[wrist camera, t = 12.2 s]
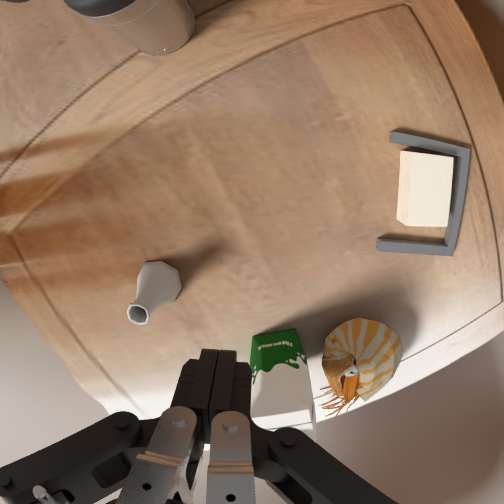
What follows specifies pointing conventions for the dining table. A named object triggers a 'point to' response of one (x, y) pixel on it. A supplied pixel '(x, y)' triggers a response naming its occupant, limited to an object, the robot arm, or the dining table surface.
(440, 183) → the carton
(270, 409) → the milk carton
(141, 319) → the flask
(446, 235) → the u-shaped bracket
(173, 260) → the dining table surface
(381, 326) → the nautilus
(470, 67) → the dining table surface
